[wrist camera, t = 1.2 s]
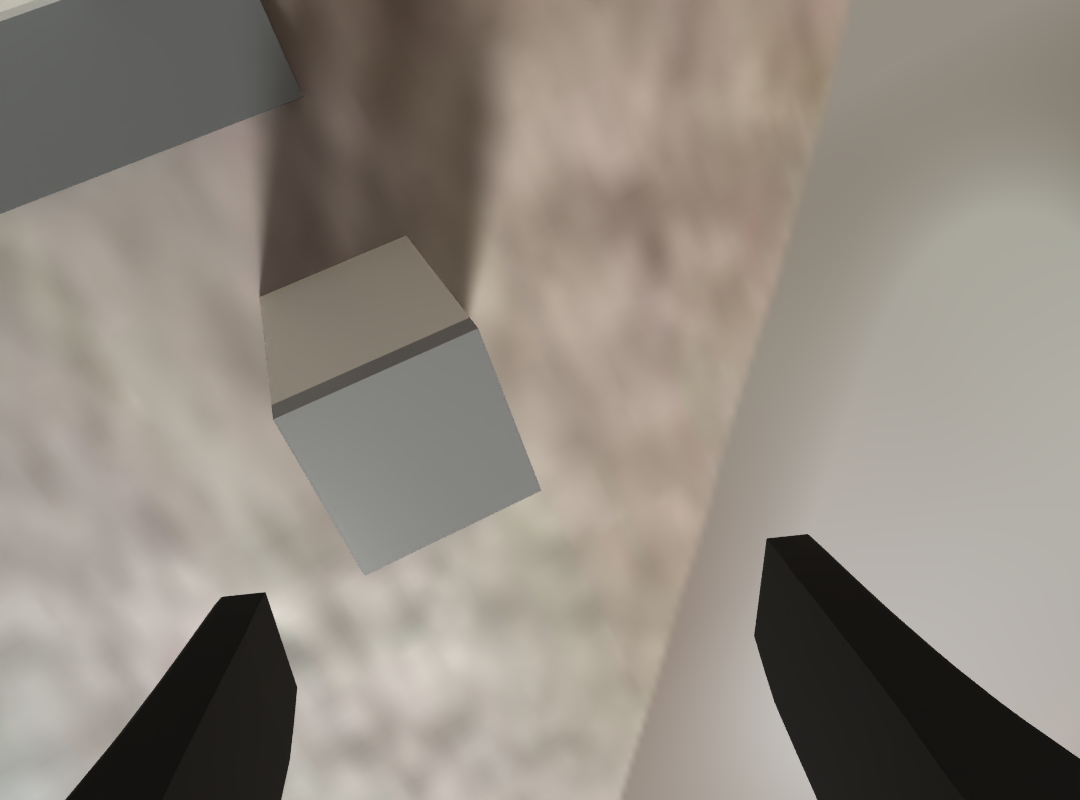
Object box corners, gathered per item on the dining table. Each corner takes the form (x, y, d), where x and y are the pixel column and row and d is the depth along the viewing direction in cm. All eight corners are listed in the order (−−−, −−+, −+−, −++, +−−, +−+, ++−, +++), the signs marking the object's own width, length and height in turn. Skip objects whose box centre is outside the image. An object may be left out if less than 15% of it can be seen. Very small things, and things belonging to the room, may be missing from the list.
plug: (327, 423, 22) (364, 575, 16) (259, 296, 20) (273, 419, 14) (459, 363, 23) (541, 490, 17) (406, 235, 21) (477, 327, 15)
